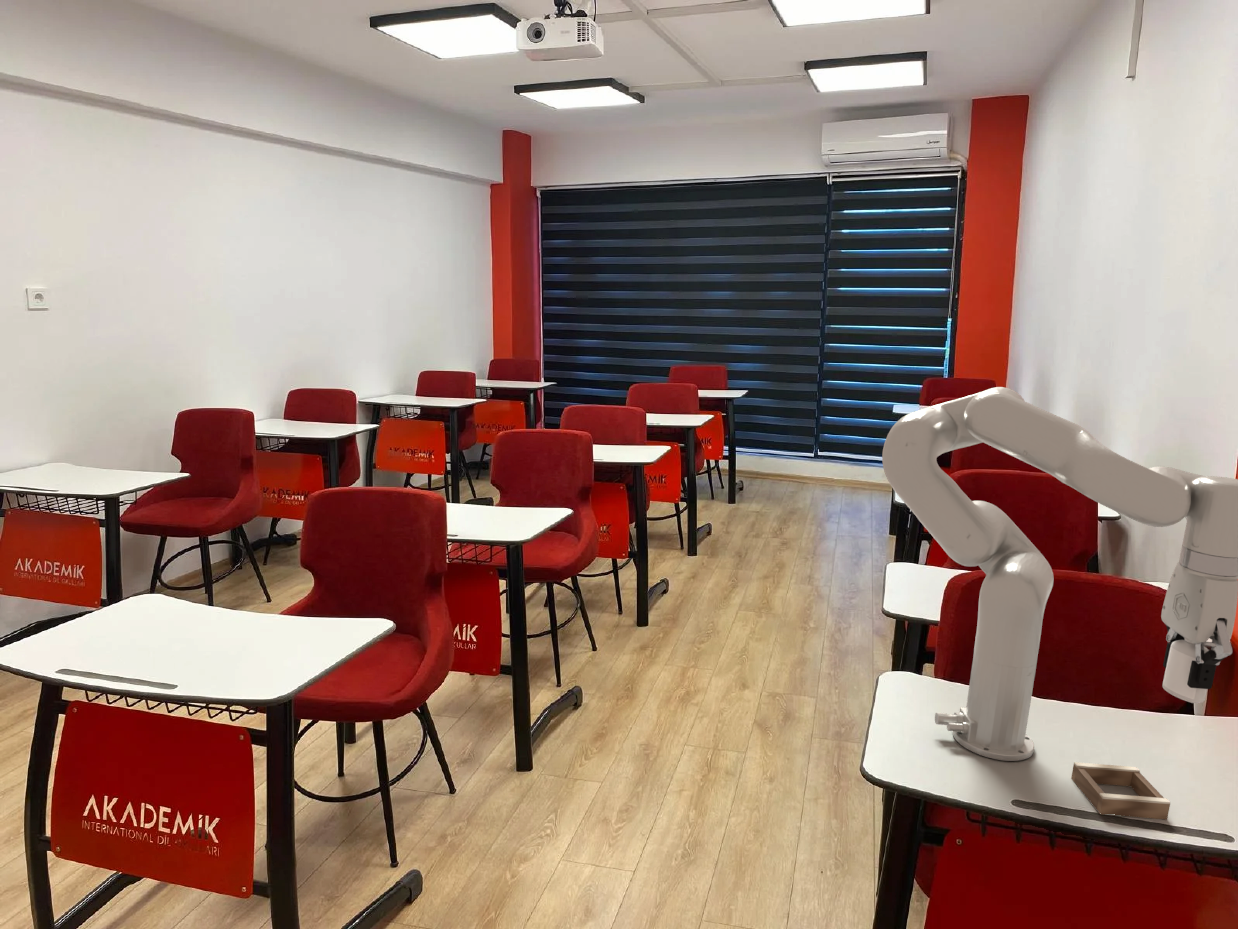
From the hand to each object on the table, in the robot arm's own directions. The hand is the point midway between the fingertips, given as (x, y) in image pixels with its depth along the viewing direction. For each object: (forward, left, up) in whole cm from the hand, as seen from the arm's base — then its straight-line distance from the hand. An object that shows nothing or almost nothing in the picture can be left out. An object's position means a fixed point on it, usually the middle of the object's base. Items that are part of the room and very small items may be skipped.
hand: (1186, 676), depth 130 cm
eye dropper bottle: (0, 0, -3) cm, 3 cm away
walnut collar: (-8, -3, -19) cm, 21 cm away
